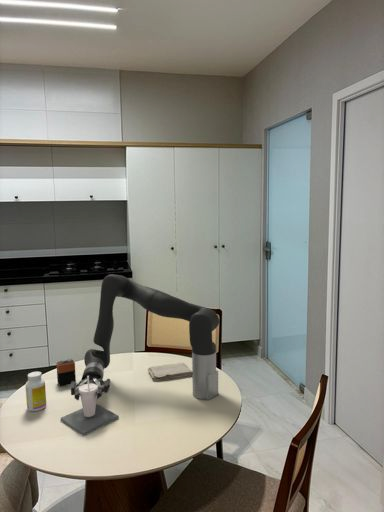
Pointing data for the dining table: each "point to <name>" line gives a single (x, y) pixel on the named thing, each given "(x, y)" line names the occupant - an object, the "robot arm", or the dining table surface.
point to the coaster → (89, 420)
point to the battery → (66, 372)
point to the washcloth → (169, 371)
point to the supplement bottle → (35, 392)
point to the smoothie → (88, 398)
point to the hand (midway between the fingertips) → (87, 396)
